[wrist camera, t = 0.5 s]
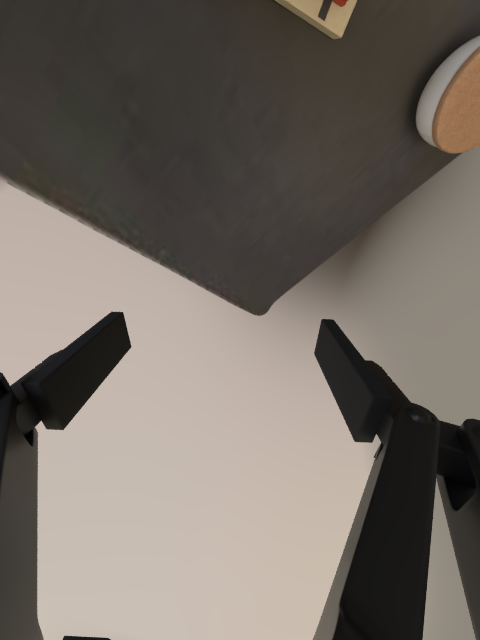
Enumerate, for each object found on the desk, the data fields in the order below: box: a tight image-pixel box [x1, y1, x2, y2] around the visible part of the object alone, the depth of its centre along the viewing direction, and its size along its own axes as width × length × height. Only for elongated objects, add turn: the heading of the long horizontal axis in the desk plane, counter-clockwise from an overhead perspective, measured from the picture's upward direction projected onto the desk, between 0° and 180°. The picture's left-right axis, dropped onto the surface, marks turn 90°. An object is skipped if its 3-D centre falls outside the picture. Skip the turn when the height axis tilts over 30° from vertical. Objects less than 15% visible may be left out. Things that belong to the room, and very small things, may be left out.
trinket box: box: [416, 35, 480, 154], centre depth 28 cm, size 11×11×9 cm
